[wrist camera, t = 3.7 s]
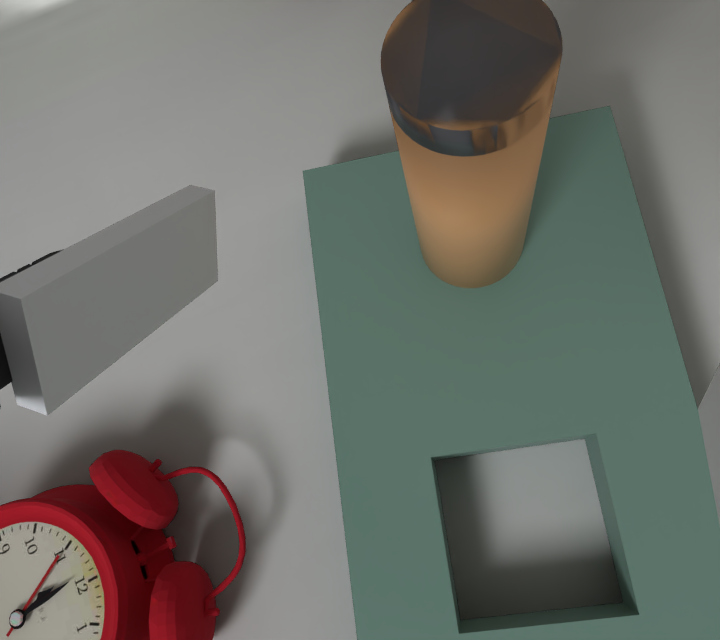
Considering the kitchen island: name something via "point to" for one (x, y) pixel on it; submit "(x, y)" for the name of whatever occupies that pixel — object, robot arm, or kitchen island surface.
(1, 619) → the alarm clock
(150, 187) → the kitchen island surface
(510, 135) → the plug
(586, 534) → the kitchen island surface
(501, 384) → the socket board
